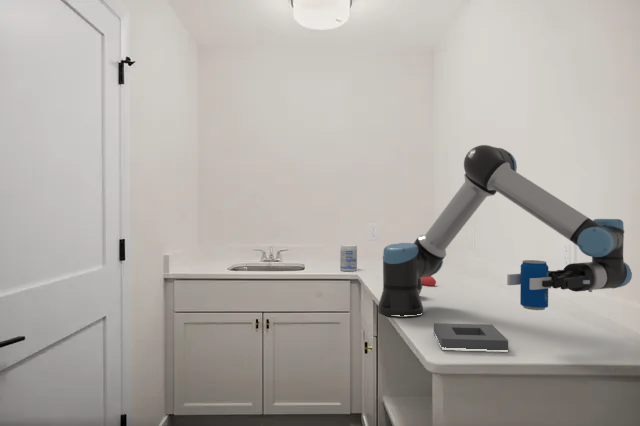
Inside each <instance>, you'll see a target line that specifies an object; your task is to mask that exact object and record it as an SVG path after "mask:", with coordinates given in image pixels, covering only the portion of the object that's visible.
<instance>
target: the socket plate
mask: <svg viewBox="0 0 640 426" xmlns="http://www.w3.org/2000/svg"><path fill="white" fill-rule="evenodd" d="M434 332H435V334H436V336H437V338H438V340H439V343H440V345H441V347H444V348H445V347H446V348H466V349H487V350H508V351H509V339H508V338H506V336H504V335H503V333H501V332H500V331H499V330H498V329H497V328H496V327H495V326H494V325H493V324H488V323H487V324H480V323H440V322H438V323H437V322H435V323H433V333H434Z"/></svg>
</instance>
